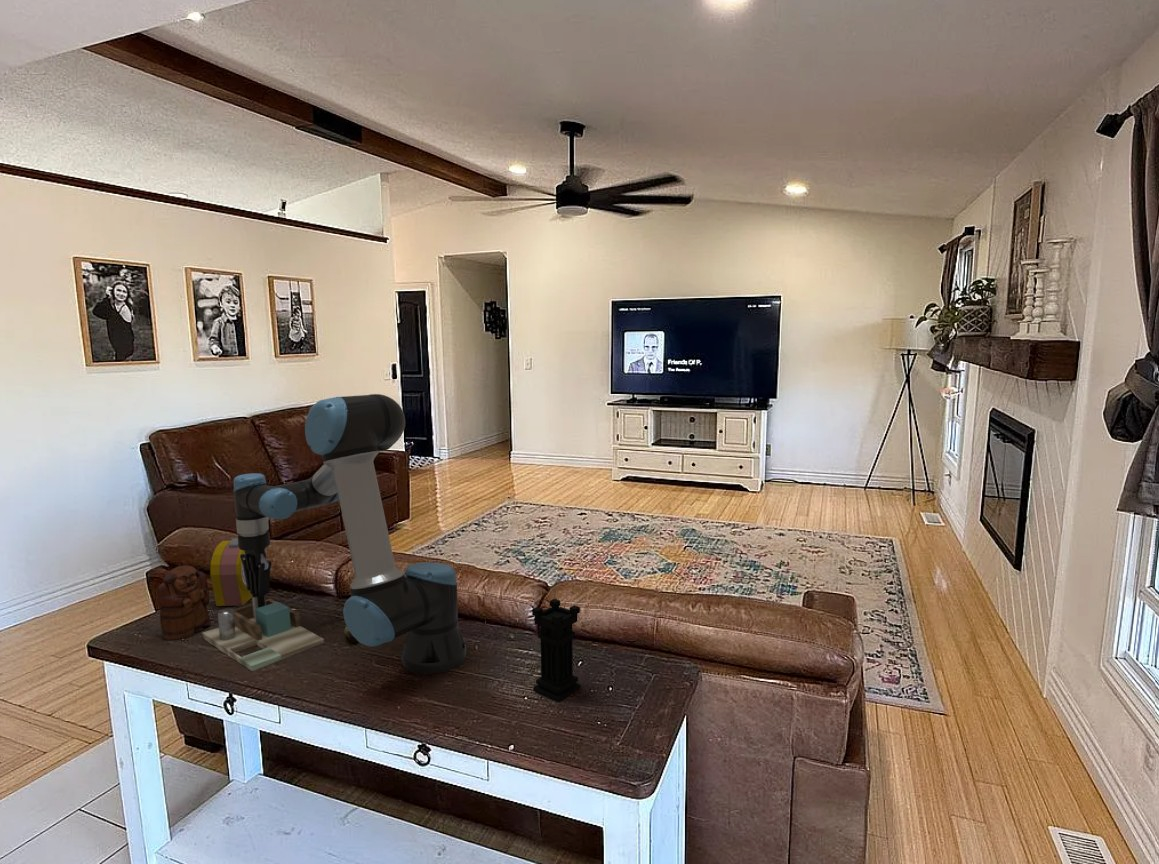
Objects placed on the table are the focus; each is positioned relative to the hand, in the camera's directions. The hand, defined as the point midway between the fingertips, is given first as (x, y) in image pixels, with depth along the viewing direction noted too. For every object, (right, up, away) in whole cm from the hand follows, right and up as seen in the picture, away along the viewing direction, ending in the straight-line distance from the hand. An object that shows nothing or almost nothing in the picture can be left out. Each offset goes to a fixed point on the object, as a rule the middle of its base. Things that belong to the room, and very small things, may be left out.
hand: (260, 617), depth 176 cm
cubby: (+2, -2, -1) cm, 3 cm away
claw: (+28, -4, +1) cm, 28 cm away
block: (+6, -2, -5) cm, 8 cm away
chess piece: (+81, -8, -34) cm, 88 cm away
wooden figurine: (-18, -3, -2) cm, 18 cm away
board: (+4, -4, -8) cm, 10 cm away
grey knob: (-4, -3, -9) cm, 10 cm away
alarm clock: (-16, 0, +21) cm, 26 cm away
